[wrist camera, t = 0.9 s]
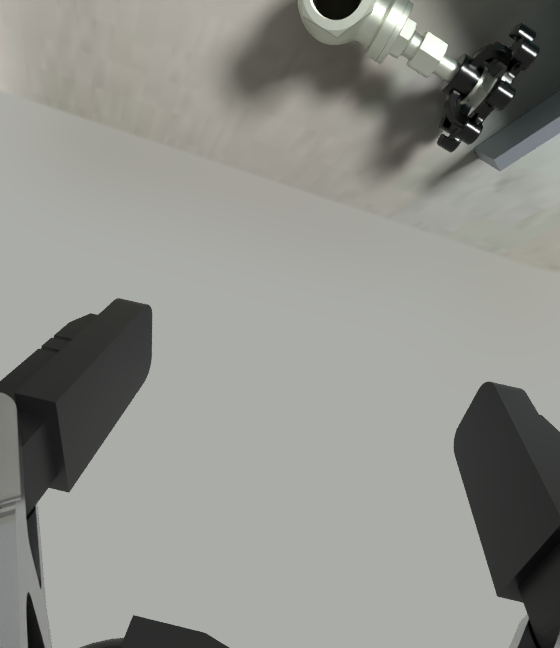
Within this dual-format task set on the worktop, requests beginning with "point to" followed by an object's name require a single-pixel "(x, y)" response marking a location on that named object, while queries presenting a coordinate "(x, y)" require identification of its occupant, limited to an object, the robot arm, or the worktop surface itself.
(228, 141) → the worktop surface
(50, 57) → the worktop surface
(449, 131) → the valve
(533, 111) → the walled bay
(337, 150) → the worktop surface
